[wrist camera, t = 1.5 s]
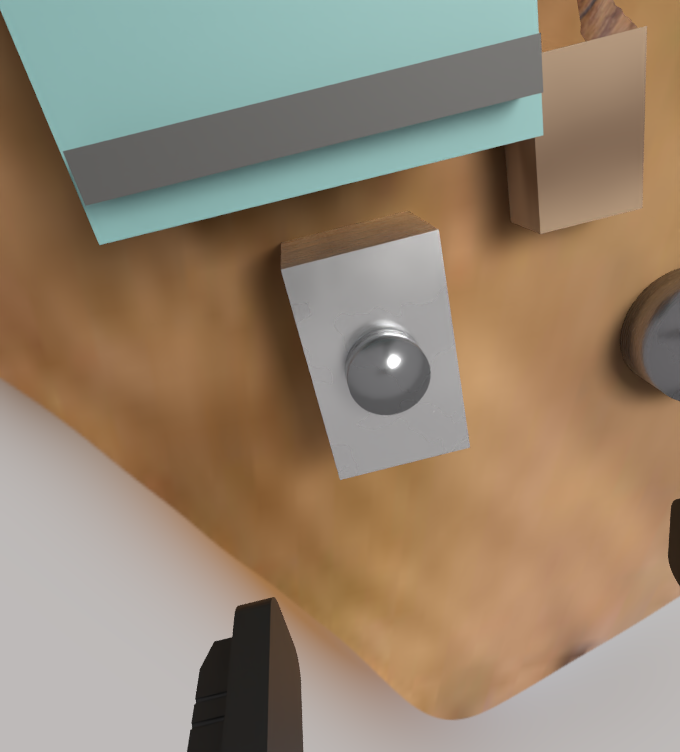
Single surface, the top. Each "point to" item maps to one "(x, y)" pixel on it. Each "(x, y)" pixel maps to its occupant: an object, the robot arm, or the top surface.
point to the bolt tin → (655, 335)
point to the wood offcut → (583, 136)
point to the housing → (378, 341)
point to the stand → (268, 95)
